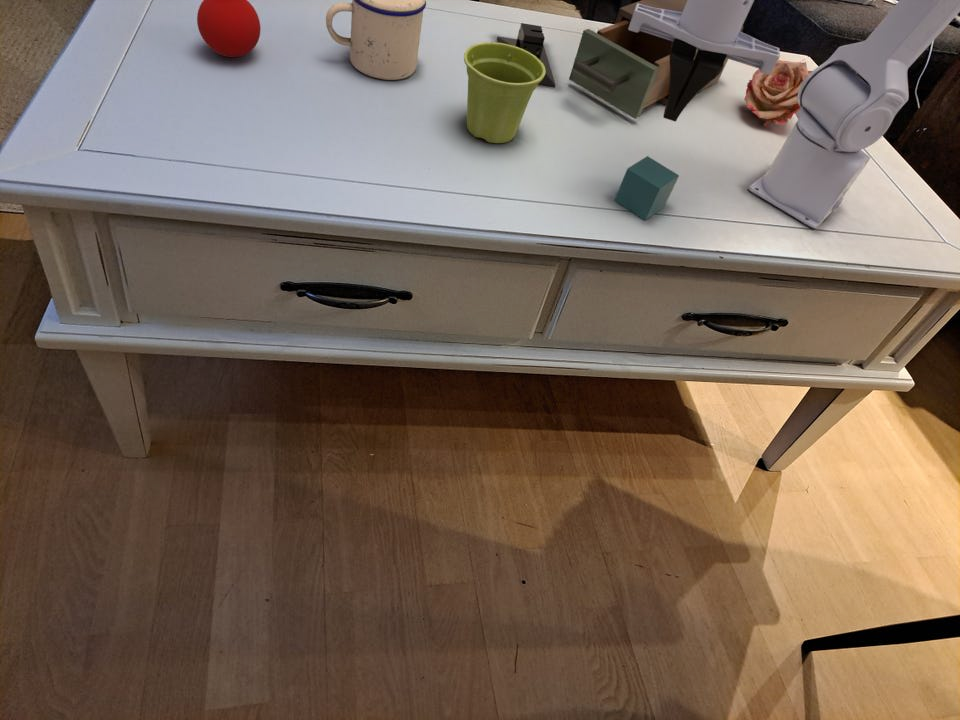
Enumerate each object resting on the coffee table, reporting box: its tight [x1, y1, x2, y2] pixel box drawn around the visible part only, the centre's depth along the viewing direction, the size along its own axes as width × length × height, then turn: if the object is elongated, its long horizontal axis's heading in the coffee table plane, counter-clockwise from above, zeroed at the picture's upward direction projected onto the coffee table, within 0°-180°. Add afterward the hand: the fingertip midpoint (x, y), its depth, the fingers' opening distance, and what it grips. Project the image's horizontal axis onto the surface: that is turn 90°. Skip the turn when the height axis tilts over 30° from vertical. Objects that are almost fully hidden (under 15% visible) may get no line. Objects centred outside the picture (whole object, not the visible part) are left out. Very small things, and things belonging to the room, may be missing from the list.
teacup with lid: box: [325, 0, 427, 81], centre depth 85 cm, size 12×9×12 cm
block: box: [613, 155, 680, 221], centre depth 78 cm, size 4×4×4 cm
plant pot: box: [463, 41, 546, 144], centre depth 81 cm, size 9×9×9 cm
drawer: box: [568, 19, 672, 120], centre depth 93 cm, size 18×11×7 cm, turn 138°
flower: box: [743, 59, 813, 128], centre depth 98 cm, size 10×9×8 cm
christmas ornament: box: [196, 0, 261, 58], centre depth 81 cm, size 7×7×10 cm
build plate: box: [496, 22, 557, 89], centre depth 96 cm, size 12×7×5 cm, turn 5°
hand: (670, 115), depth 73 cm, fingers closed
